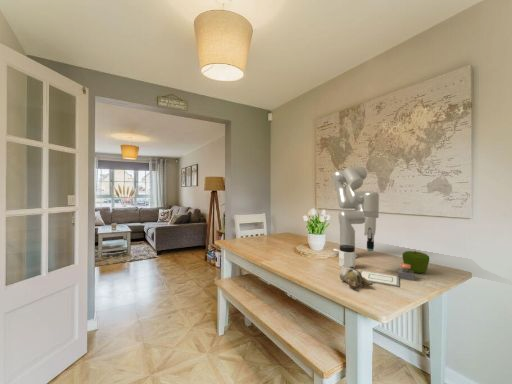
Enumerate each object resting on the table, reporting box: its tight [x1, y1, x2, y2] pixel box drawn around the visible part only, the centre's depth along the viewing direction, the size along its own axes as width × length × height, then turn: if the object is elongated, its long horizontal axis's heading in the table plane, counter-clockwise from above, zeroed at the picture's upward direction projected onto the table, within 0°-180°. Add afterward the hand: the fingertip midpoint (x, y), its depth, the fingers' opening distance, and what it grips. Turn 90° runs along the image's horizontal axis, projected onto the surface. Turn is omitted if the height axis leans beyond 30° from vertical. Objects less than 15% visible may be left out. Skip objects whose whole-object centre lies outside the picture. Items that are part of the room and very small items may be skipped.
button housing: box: [397, 268, 415, 282], centre depth 123 cm, size 7×7×3 cm
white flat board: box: [359, 270, 400, 288], centre depth 121 cm, size 18×15×1 cm
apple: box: [402, 250, 430, 274], centre depth 132 cm, size 12×12×11 cm
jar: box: [338, 244, 356, 269], centre depth 141 cm, size 9×8×12 cm
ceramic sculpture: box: [339, 265, 374, 289], centre depth 113 cm, size 11×9×15 cm
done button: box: [400, 262, 411, 273], centre depth 123 cm, size 4×4×4 cm
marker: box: [367, 235, 375, 252], centre depth 132 cm, size 3×3×9 cm
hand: (370, 247), depth 133 cm, fingers closed on marker, 3 cm apart
